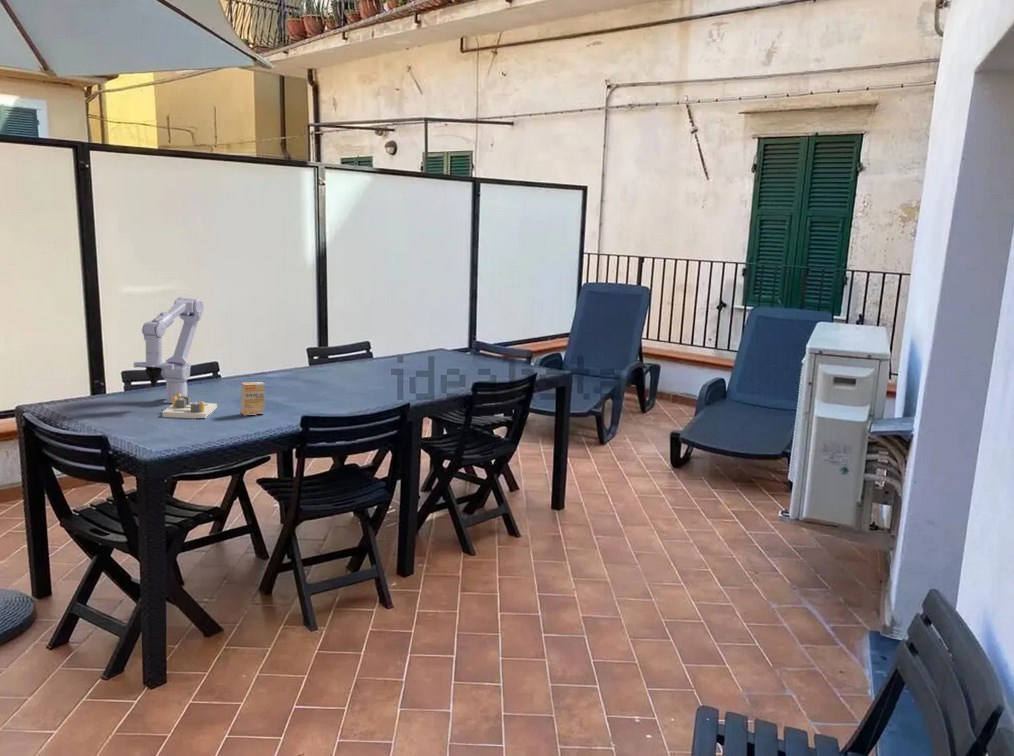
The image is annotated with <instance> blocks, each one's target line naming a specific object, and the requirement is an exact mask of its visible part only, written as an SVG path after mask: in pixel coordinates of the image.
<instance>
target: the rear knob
mask: <svg viewBox="0 0 1014 756" xmlns="http://www.w3.org/2000/svg"><path fill="white" fill-rule="evenodd" d="M180 398H183V399H186V405H188V404H190V402H191V395H188V394H187V395H183V396H181V397H180Z"/></svg>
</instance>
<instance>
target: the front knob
mask: <svg viewBox="0 0 1014 756" xmlns="http://www.w3.org/2000/svg"><path fill="white" fill-rule="evenodd" d="M191 412H200V402H198V401H195V402H194V403H192V404H191Z"/></svg>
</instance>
